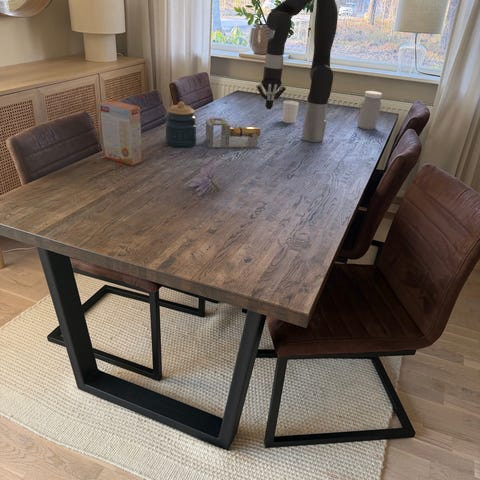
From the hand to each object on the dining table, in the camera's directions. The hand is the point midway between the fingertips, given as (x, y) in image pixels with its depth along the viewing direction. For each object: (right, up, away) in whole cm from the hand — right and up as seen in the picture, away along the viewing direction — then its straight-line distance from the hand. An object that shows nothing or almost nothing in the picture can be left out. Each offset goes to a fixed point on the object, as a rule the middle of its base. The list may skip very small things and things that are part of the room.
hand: (268, 108), depth 189 cm
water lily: (-24, -40, -40) cm, 61 cm away
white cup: (+13, +6, +43) cm, 46 cm away
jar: (+55, +3, +44) cm, 70 cm away
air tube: (-10, -11, +4) cm, 16 cm away
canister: (-38, -15, 0) cm, 41 cm away
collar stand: (-16, -14, +4) cm, 22 cm away
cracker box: (-56, -26, -22) cm, 66 cm away
